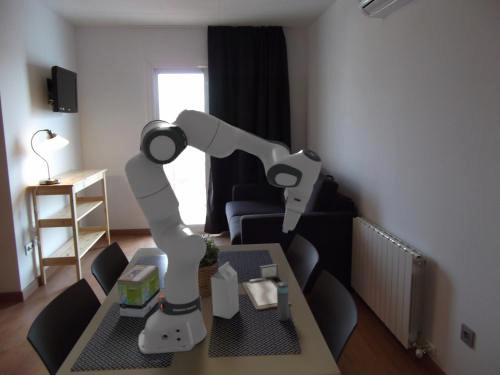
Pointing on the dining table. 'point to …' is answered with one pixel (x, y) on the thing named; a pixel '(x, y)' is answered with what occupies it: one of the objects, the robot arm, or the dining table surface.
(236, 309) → the milk carton
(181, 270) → the robot arm
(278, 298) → the microphone
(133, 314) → the tea box
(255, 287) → the clipboard
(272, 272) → the picture frame
